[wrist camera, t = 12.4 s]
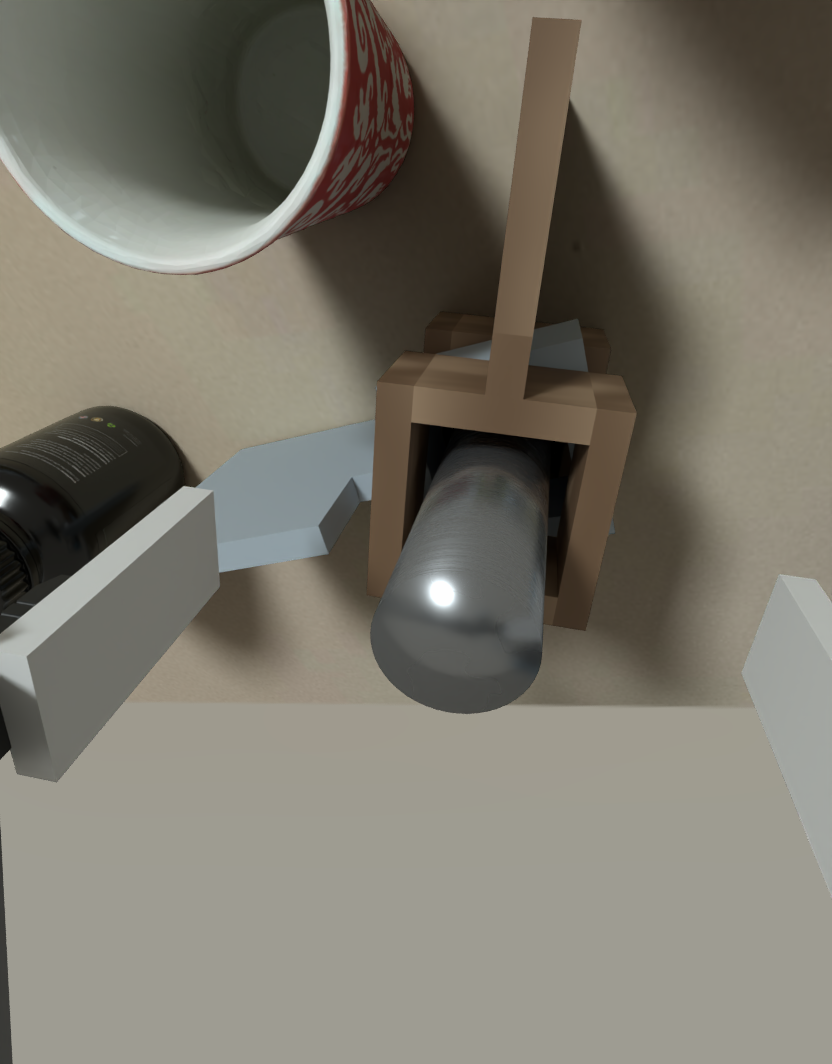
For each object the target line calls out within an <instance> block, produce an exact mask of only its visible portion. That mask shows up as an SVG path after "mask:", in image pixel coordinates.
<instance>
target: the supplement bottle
mask: <svg viewBox="0 0 832 1064" xmlns="http://www.w3.org/2000/svg"><path fill="white" fill-rule="evenodd" d="M183 486H185V482H184V472H183V467H182V464H181V461H180V458H179V456H178V454H177V452H176V450H175V448H174V446H173V445H172V443H171V442H170V441H169V439H168V438H167V437H166V435H165V434H164V433H163V432H162V431H161V430H160V429H159V428H158V427H157V426H155V425H154V424H153V423H152V422H150V421H149V420H148V419H146V418H144V417H143V416H141V415H139V414H137V413H135V412H133V411H130V410H127V409H124V408H120V407H114V406H97V407H92V408H88V409H85V410H83V411H80V412H78V413H76V414H74V415H71V416H69V417H67V418H64V419H62V420H60V421H58V422H56V423H54V424H52V425H49V426H47V427H45V428H43V429H41V430H39V431H37V432H34V433H32V434H30V435H28V436H26V437H24V438H22V439H19V440H17V441H15V442H13V443H11V444H9V445H7V446H4V447H2V448H0V615H1V613H2V611H4V610H5V609H6V608H7V607H9V606H10V605H11V604H13V603H17V600H18V599H19V598H21V597H22V596H23V595H24V594H26V593H27V592H28V591H30V590H31V589H32V588H34V587H35V586H36V585H39V584H41V583H43V582H45V581H48V580H50V579H52V578H55V577H57V576H59V575H68V576H73V575H74V574H75V573H76V572H78V571H79V570H80V569H81V568H83V567H84V566H85V565H86V564H88V563H89V562H90V561H91V560H93V559H94V558H95V557H96V556H98V555H99V554H100V553H101V552H102V551H104V550H105V549H106V548H107V547H109V546H110V545H111V544H112V543H114V542H115V541H116V540H117V539H119V538H120V537H121V536H122V535H124V534H125V533H126V532H127V531H129V530H130V529H131V528H132V527H134V526H135V525H136V524H137V523H139V522H140V521H141V520H142V519H143V518H145V517H146V516H147V515H148V514H150V513H151V512H152V511H153V510H155V509H156V508H157V507H158V506H160V505H161V504H162V503H163V502H165V501H166V500H167V499H168V498H170V497H171V496H172V495H173V494H175V493H176V492H177V491H178V490H180V489H181V488H182V487H183Z"/></svg>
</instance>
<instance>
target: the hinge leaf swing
mask: <svg viewBox="0 0 832 1064" xmlns="http://www.w3.org/2000/svg"><path fill="white" fill-rule="evenodd" d="M491 343H492V340H489V341H485V342H481V343H477V344H473V345H469V346H465V347H461V348H457V349H453V350H449V351H445V352H441V353H437V354H439V355H447V356H456V357H464V358H473V359H481V360H489V359H490V351H491ZM529 365H532V366H541V367H550V368H558V369H567V370H575V371H584V372H588V368H587V362H586V356H585V350H584V344H583V338H582V334H581V329H580V325H579V321H578V319H574V320H570V321H566V322H562V323H558V324H554V325H550V326H546V327H542V328H538V329H534V332H533V339H532V345H531V352H530V358H529ZM375 388H376V391H377V386H376V387H375ZM374 436H375V419H374V420H370V421H366V422H361V423H357V424H352V425H348V426H343V427H339V428H334V429H330V430H325V431H321V432H317V433H312V434H308V435H303V436H299V437H294V438H290V439H285V440H281V441H276V442H272V443H268V444H263V445H259V446H254V447H250V448H245V449H241V450H240V451H239V452H237V453H236V454H235V455H234V456H233V457H231V458H230V459H229V460H228V461H227V462H225V463H224V464H223V465H222V466H221V467H220V468H218V469H217V470H216V471H215V472H214V473H212V474H211V475H210V476H209V477H208V478H206V479H205V480H204V481H203V482H202V483H200V484H199V485H198V486H197V487H196V488H200V489H207V490H213V492H214V506H215V521H216V535H217V549H218V564H219V573H220V572H225V571H231V570H237V569H243V568H249V567H255V566H261V565H267V564H273V563H278V562H284V561H290V560H296V559H302V558H308V557H314V556H320V555H326V554H329V552H330V551H331V549H332V547H333V546H334V544H335V543H336V541H337V539H338V538H339V536H340V534H341V533H342V531H343V529H344V528H345V526H346V524H347V523H348V521H349V520H350V518H351V516H352V515H353V513H354V511H355V510H356V508H357V506H358V505H359V503H360V502H363V501H368V500H371V496H372V476H373V456H374ZM568 445H569V451H570V456H571V461H572V456H573V451H574V446H575V443H568ZM445 450H446V446H445V442H444V438H443V435H442V431H441V427H440V426H436V425H430V428H429V439H428V451H427V462H426V473H425V484H424V495H423V501H424V498H425V496H426V494H427V492H428V489H429V487H430V485H431V482H432V480H433V478H434V475H435V473H436V471H437V468H438V466H439V464H440V461H441V459H442V457H443V454H444V452H445ZM567 481H568V476H564V477H559V478H553V479H550V484H549V507H548V530H547V536H553V537H557V532H558V527H559V522H560V517H561V512H562V507H563V502H564V497H565V492H566V486H567ZM609 534H615V529H614V523H613V517H612V521H611V525H610V529H609ZM609 534H608V535H609Z"/></svg>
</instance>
